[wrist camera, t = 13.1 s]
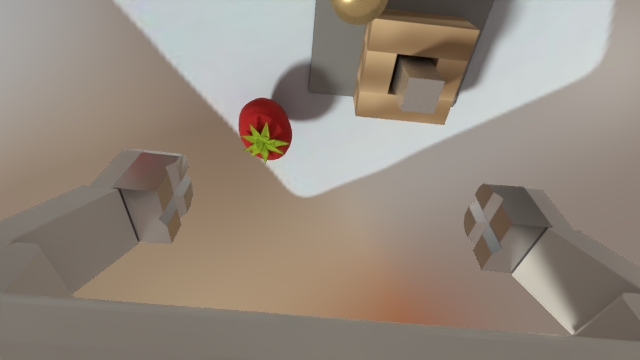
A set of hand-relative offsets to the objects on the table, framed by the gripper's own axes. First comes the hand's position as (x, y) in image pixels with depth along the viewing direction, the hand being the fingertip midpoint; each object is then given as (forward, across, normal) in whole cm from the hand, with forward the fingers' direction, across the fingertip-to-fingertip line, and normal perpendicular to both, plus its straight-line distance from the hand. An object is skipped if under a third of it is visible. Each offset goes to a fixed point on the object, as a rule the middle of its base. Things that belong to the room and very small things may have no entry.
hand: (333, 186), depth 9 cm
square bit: (+30, -9, +6) cm, 32 cm away
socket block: (+31, -9, +6) cm, 33 cm away
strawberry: (+31, +6, +14) cm, 35 cm away
